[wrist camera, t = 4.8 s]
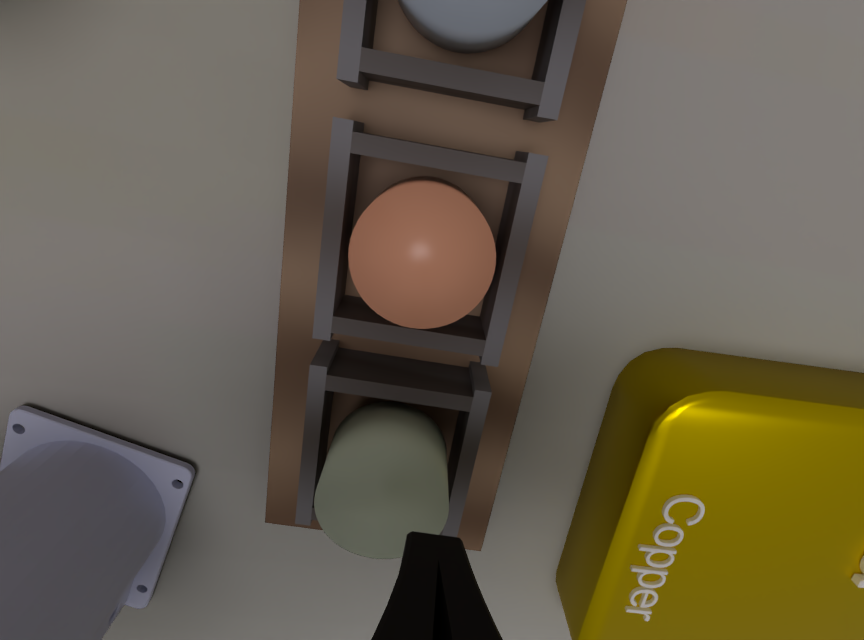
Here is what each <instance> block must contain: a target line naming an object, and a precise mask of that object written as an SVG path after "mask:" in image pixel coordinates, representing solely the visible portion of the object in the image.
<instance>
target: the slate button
mask: <svg viewBox="0 0 864 640" xmlns="http://www.w3.org/2000/svg"><path fill="white" fill-rule="evenodd" d="M398 2H399V5H400V7H401V9H402V10H403V12H404V14H405V16H406V17H407V19H408V20H409V22H410V23H411V24H412V26H413V27H414V28H415V29H416V30H417V31H418V32H419V33H420V34H421V35H422V36H423V37H425V38H426V39H427V40H428V41H430V42H432V43H433V44H435V45H437V46H439V47H441V48H443V49H446V50H449V51H453V52H457V53H465V54H468V53H480V52H486V51H489V50H492V49H495V48H497V47H499V46H501V45H503V44H505V43H507V42H508V41H510V40H511V39H513V38H514V37H515V36H516V35H517V34H519V33H520V32H521V31H522V30H523V29H524V28H525V26H526V25H527V24H528V23H529V22H530V21H531V20H532V18H533V17H534V16H535V15H536V14H537V12H538V11H539V10H540V9H541V8H542V6H543V5H544V4H545V3H546V2H547V0H398Z"/></svg>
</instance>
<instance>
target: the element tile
mask: <svg viewBox="0 0 864 640" xmlns="http://www.w3.org/2000/svg"><path fill="white" fill-rule="evenodd" d="M556 583H557V588H558V592H559V595H560V599H561V602H562V606H563V610H564V613H565V617H566V620H567V624H568V628H569V631H570V635H571V638H572V640H864V373H859V372H851V371H844V370H837V369H829V368H822V367H814V366H807V365H799V364H792V363H785V362H777V361H770V360H762V359H755V358H747V357H740V356H733V355H725V354H718V353H710V352H703V351H695V350H688V349H681V348H661V349H657V350H653V351H649V352H645V353H643V354H641V355H640V356H638V357H636V358H635V359H633V360H632V361H630V362H629V363H628V364H627V366H626V367H625V368H624V369H623V370H622V372H621V373H620V374H619V376H618V378H617V380H616V382H615V384H614V386H613V388H612V391H611V395H610V398H609V401H608V404H607V408H606V411H605V414H604V418H603V421H602V424H601V427H600V431H599V434H598V437H597V440H596V444H595V447H594V450H593V454H592V457H591V460H590V463H589V467H588V470H587V473H586V477H585V480H584V483H583V486H582V490H581V493H580V496H579V499H578V503H577V506H576V509H575V513H574V516H573V519H572V522H571V526H570V529H569V532H568V535H567V539H566V542H565V545H564V549H563V552H562V555H561V558H560V562H559V565H558V568H557V572H556Z"/></svg>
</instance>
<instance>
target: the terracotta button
mask: <svg viewBox="0 0 864 640" xmlns="http://www.w3.org/2000/svg"><path fill="white" fill-rule="evenodd" d="M348 260H349V269H350V273H351V277H352V280H353V282H354V285H355V287H356V289H357V291H358V293H359V294H360V296H361V297H362V299H363V300H364V301H365V302H366V304H367V305H368V306H369V307H370V308H371V309H372V310H374V311H375V312H376V313H377V314H378V315H380V316H381V317H383V318H385V319H386V320H388V321H390V322H392V323H395V324H398V325H400V326H404V327H409V328H416V329H430V328H437V327H441V326H445V325H448V324H450V323H453V322H455V321H457V320H459V319H461V318H462V317H464V316H465V315H467V314H468V313H469V312H471V311H472V310H473V309H474V308H475V307H476V306H477V305H478V304H479V302H480V301H481V300H482V299H483V297H484V296H485V294H486V292H487V291H488V289H489V286H490V284H491V282H492V279H493V275H494V272H495V265H496V249H495V242H494V238H493V235H492V232H491V230H490V227H489V225H488V223H487V221H486V220H485V218H484V216H483V215H482V213H481V212H480V210H479V209H478V207H477V206H476V204H475V203H474V202H473V200H472V199H471V198H470V197H469V196H468V195H467V194H466V193H465V192H464V191H463V190H462V189H460V188H459V187H458V186H456V185H454V184H452V183H451V182H448V181H446V180H443V179H440V178H436V177H428V176H417V177H411V178H407V179H404V180H401V181H399V182H396V183H394V184H392V185H391V186H389V187H388V188H386V189H385V190H384V191H383V192H382V193H380V194H379V196H378V197H377V198H376V199H375V200H374V201H373V202H372V203H371V204H370V205H369V206H368V207H367V209H366V210H365V211H364V212H363V213H362V215H361V216H360V218H359V219H358V221H357V223H356V225H355V227H354V229H353V232H352V235H351V238H350V243H349V252H348Z"/></svg>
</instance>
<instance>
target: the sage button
mask: <svg viewBox="0 0 864 640" xmlns="http://www.w3.org/2000/svg"><path fill="white" fill-rule="evenodd" d="M314 508H315V514H316V517H317V520H318V522H319V524H320V526H321V528H322V529H323V531H324V532H325V533H326V534H327V536H328V537H329V538H330V539H331V540H333V541H334V542H335V543H336V544H338V545H339V546H340V547H342V548H344V549H346V550H347V551H349V552H352V553H354V554H357V555H360V556H364V557H368V558H375V559H393V558H400V557H403V552H404V547H405V541H406V536H407V534H408V533H410V532H412V531H414V532H422V533H429V534H436V535H439V534H440V533H441V531H442V530H443V528H444V526H445V524H446V521H447V518H448V513H449V494H448V473H447V451H446V443H445V439H444V436H443V434H442V432H441V430H440V428H439V427H438V425H437V424H436V423H435V422H434V421H433V420H432V419H431V418H430V417H429V416H428V415H427V414H425V413H424V412H422V411H421V410H419V409H417V408H415V407H412V406H410V405H407V404H403V403H398V402H378V403H372V404H369V405H365V406H363V407H360V408H358V409H357V410H355V411H353V412H352V413H350V414H349V415H348V416H347V417H346V418H345V419H344V420H343V421H342V422H341V423H340V425H339V426H338V428H337V430H336V432H335V434H334V437H333V440H332V443H331V446H330V449H329V452H328V455H327V458H326V461H325V464H324V467H323V470H322V473H321V476H320V479H319V482H318V485H317V488H316V492H315V497H314Z"/></svg>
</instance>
